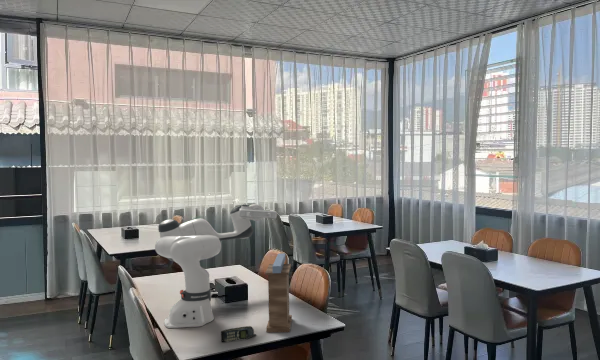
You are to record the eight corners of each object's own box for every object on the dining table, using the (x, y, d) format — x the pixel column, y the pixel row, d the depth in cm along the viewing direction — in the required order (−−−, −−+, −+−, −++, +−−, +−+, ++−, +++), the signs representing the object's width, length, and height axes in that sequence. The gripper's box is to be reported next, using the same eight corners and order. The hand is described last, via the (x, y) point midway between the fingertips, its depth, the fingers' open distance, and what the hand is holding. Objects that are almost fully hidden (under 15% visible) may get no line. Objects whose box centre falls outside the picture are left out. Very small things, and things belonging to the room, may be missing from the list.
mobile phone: (221, 332, 184) (257, 326, 190) (219, 329, 187) (255, 323, 192) (221, 344, 185) (257, 337, 190) (220, 341, 188) (255, 335, 193)
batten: (278, 259, 219) (278, 253, 219) (285, 259, 219) (285, 253, 219) (272, 273, 193) (272, 266, 193) (280, 273, 193) (280, 266, 193)
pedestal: (270, 319, 212) (269, 264, 210) (291, 319, 211) (290, 263, 210) (266, 332, 196) (265, 272, 194) (289, 332, 195) (288, 272, 194)
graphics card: (213, 280, 272) (227, 290, 250) (213, 285, 272) (227, 296, 250) (197, 282, 267) (209, 293, 245) (197, 288, 267) (209, 299, 245)
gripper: (274, 219, 252) (278, 221, 239) (237, 217, 248) (239, 219, 234) (275, 208, 252) (279, 209, 239) (238, 206, 248) (240, 207, 234)
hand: (259, 214), depth 236 cm, fingers open, 8 cm apart
